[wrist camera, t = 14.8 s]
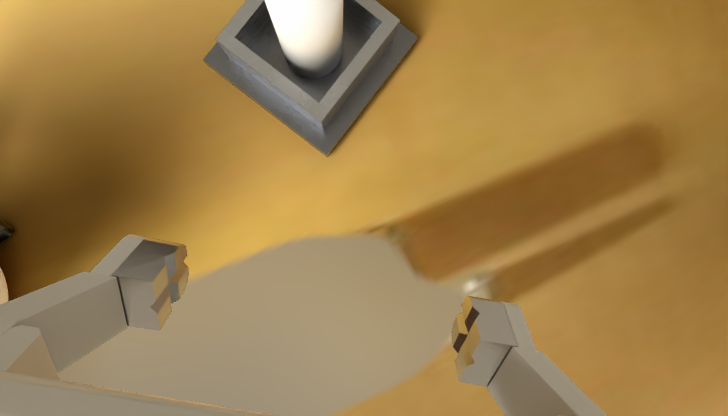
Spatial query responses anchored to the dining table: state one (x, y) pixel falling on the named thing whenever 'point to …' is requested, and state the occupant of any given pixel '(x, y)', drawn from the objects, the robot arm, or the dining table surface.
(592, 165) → the dining table surface
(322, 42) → the paper roll
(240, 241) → the dining table surface
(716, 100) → the dining table surface
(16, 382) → the robot arm
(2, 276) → the coffee press
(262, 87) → the roll stand
